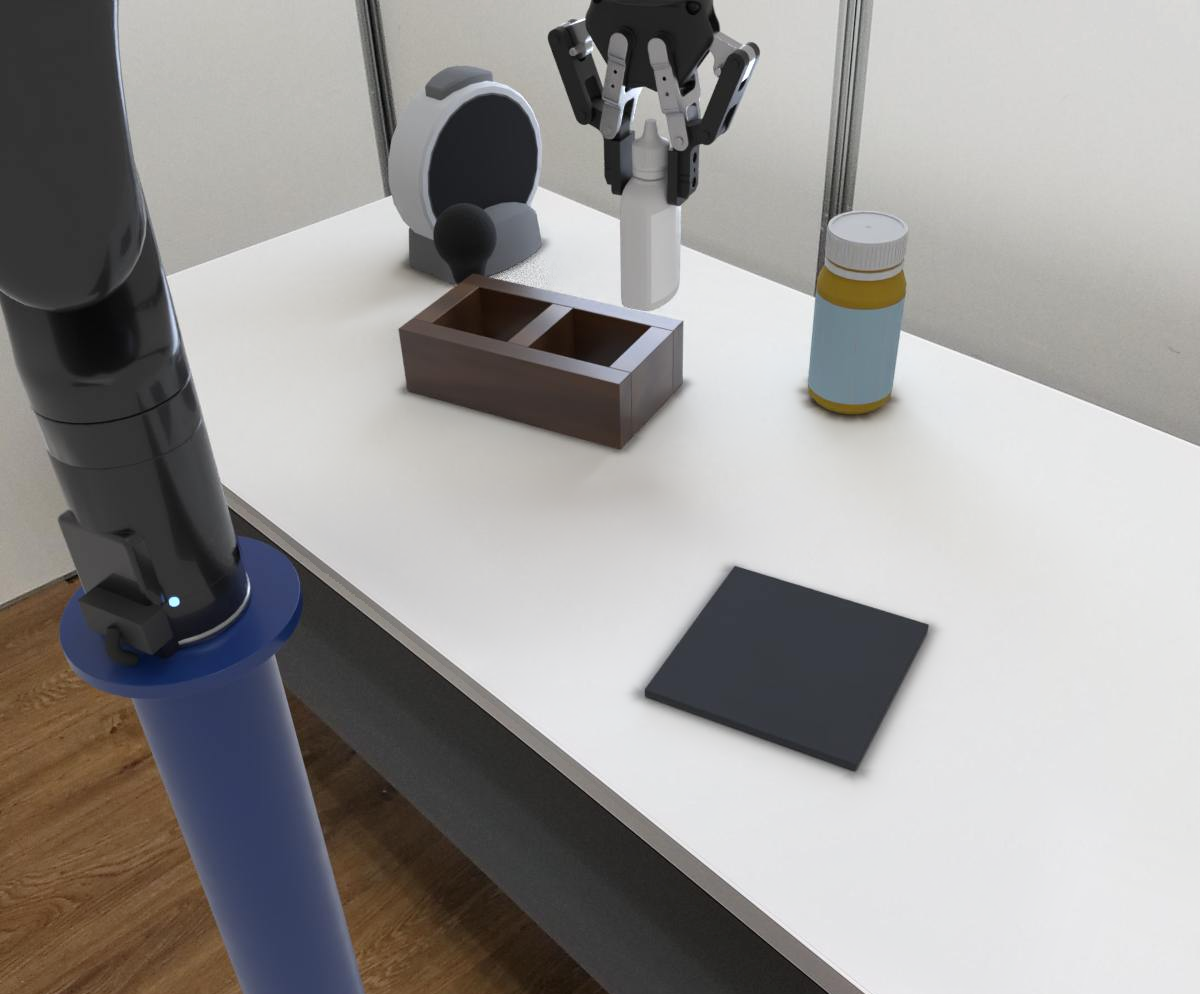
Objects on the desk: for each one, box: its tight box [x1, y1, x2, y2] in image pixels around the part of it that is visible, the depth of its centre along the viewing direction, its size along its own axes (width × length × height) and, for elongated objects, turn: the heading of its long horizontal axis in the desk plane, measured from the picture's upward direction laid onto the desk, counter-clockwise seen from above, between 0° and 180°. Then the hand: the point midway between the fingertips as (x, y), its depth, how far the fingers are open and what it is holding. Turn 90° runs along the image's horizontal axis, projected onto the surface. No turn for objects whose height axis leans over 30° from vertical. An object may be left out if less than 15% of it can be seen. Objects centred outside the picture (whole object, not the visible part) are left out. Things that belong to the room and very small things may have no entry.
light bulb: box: [433, 203, 497, 286], centre depth 118 cm, size 6×6×10 cm
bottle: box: [807, 209, 909, 415], centre depth 102 cm, size 7×7×15 cm
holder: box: [397, 274, 684, 450], centre depth 107 cm, size 12×21×6 cm, turn 61°
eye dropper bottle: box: [619, 118, 682, 312], centre depth 84 cm, size 4×6×12 cm
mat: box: [644, 565, 930, 771], centre depth 81 cm, size 14×14×1 cm
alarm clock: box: [387, 65, 543, 285], centre depth 124 cm, size 16×10×18 cm, turn 136°
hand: (651, 195), depth 83 cm, fingers closed on eye dropper bottle, 3 cm apart
